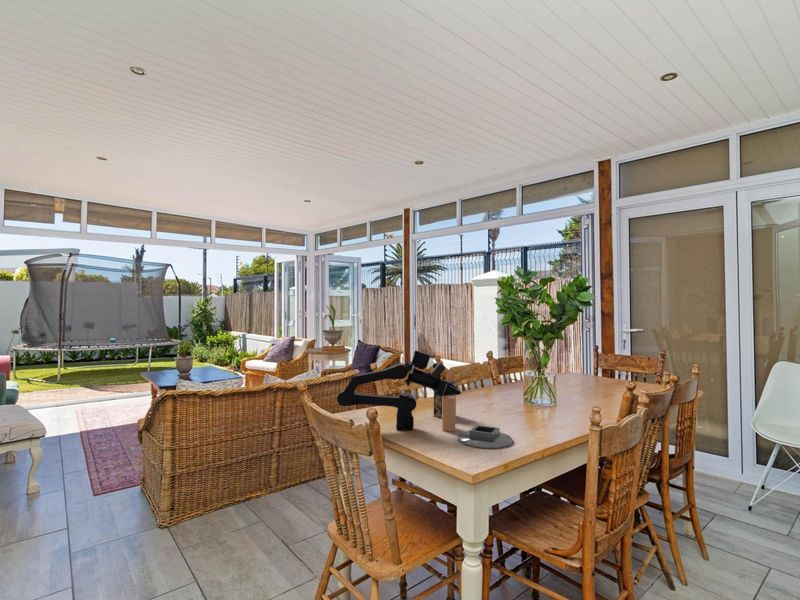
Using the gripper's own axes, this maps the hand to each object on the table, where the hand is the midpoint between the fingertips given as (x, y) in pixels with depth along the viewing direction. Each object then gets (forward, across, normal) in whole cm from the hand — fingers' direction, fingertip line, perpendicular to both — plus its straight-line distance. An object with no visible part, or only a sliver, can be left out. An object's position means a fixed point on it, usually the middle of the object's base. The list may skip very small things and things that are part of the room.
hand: (458, 390), depth 177 cm
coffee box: (+2, +20, +16) cm, 25 cm away
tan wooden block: (+1, -1, +16) cm, 16 cm away
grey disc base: (+12, -16, +12) cm, 23 cm away
